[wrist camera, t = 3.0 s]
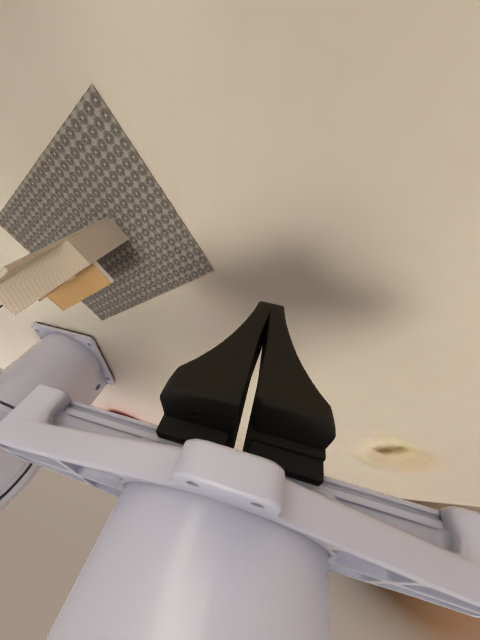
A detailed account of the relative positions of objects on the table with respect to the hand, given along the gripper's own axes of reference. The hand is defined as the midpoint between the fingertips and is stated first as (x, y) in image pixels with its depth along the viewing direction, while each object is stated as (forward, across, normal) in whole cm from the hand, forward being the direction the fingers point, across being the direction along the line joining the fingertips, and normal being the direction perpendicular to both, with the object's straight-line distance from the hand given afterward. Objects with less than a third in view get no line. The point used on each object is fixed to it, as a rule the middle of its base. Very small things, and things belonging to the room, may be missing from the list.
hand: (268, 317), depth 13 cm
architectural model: (+4, +14, 0) cm, 15 cm away
